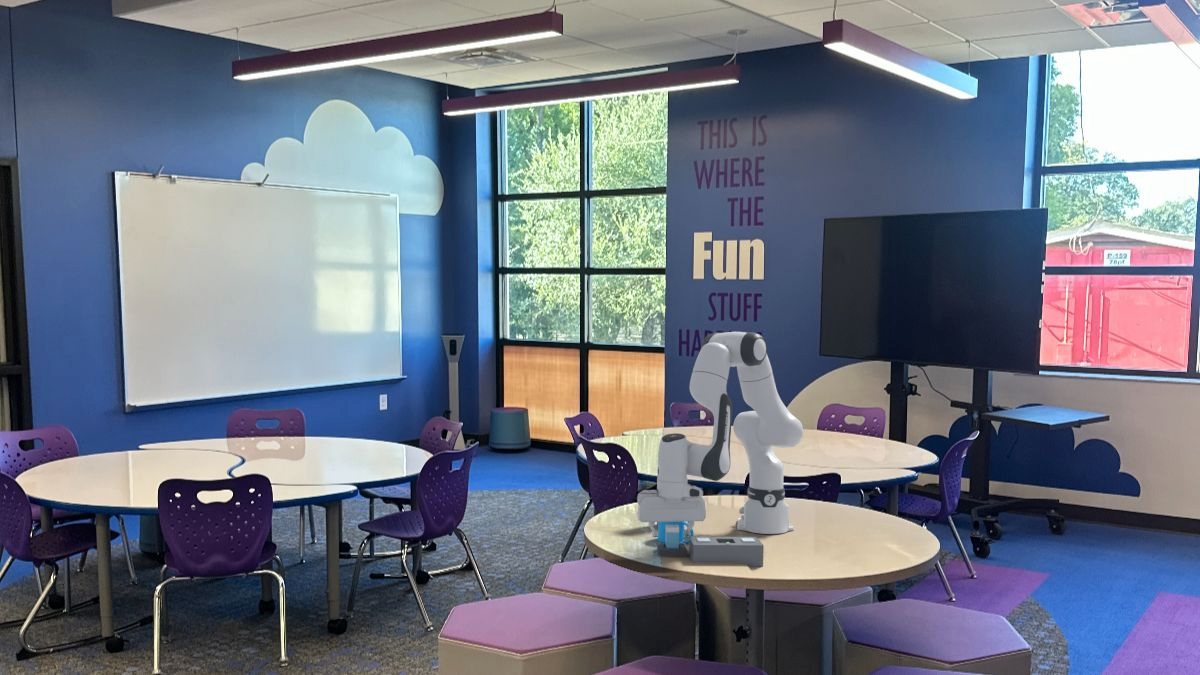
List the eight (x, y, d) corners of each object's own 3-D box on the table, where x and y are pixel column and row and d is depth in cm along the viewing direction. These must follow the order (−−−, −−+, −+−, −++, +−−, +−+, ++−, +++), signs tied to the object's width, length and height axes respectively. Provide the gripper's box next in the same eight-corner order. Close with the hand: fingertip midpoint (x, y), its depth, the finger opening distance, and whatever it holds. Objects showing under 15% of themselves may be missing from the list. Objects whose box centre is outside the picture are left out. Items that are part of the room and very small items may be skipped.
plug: (665, 551, 286) (665, 524, 286) (677, 551, 286) (677, 524, 286) (666, 554, 282) (666, 527, 282) (678, 554, 282) (679, 527, 282)
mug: (652, 543, 299) (653, 517, 299) (666, 538, 306) (666, 513, 306) (686, 549, 293) (687, 523, 292) (699, 544, 299) (700, 518, 299)
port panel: (688, 556, 284) (689, 535, 284) (756, 557, 285) (756, 535, 285) (693, 565, 274) (693, 543, 274) (763, 566, 275) (763, 543, 275)
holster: (656, 553, 288) (657, 543, 288) (683, 553, 288) (683, 543, 288) (659, 560, 280) (659, 549, 280) (687, 560, 280) (687, 550, 280)
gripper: (639, 492, 278) (638, 539, 279) (708, 491, 282) (707, 538, 283) (635, 488, 285) (634, 534, 285) (702, 487, 288) (700, 533, 289)
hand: (671, 536), depth 284 cm, fingers open, 8 cm apart
